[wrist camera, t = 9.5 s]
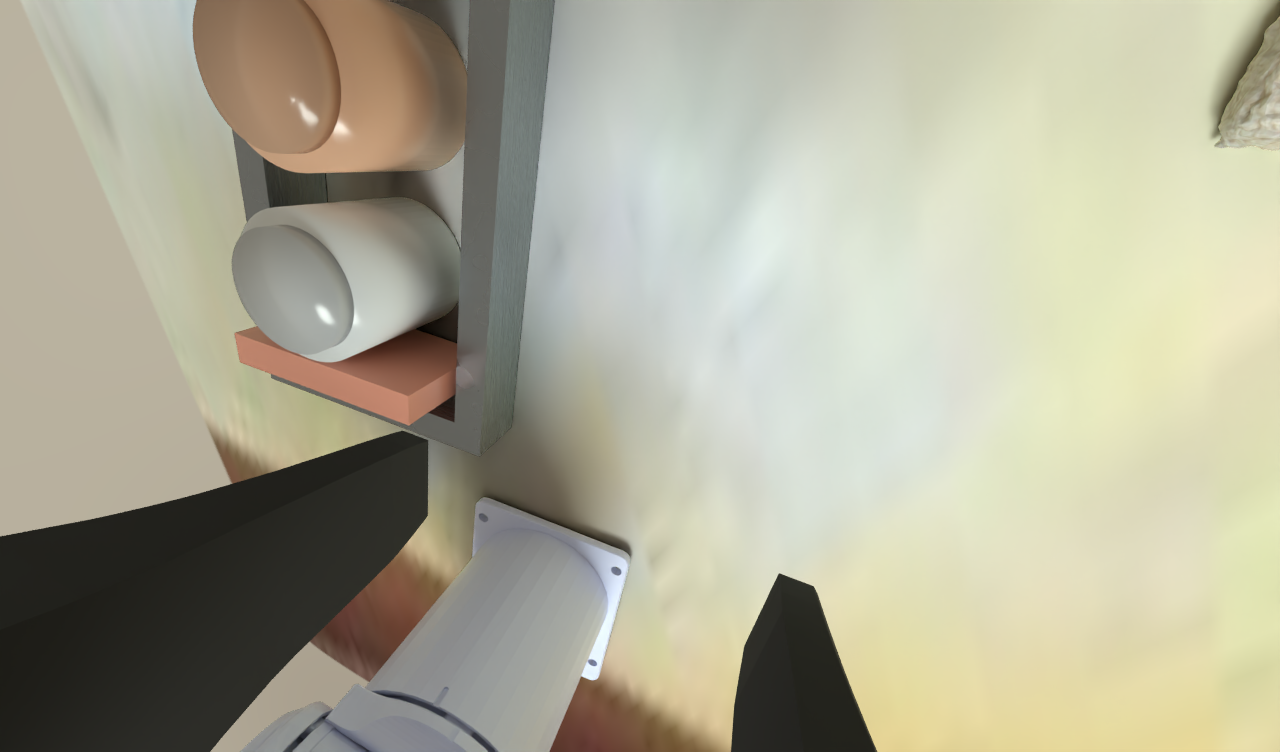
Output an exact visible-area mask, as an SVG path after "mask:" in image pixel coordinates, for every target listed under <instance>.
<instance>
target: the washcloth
mask: <svg viewBox="0 0 1280 752" xmlns="http://www.w3.org/2000/svg"><path fill="white" fill-rule="evenodd" d="M1218 128H1219V130H1220V133H1221V135H1222V137H1221V139H1220V141H1219V142H1217V143H1216V144H1215V146H1214V147H1219V148H1224V147H1231V148H1242V147H1247V146H1256V147H1258V148H1261V149H1265V150H1271V151H1274V150H1279V149H1280V15H1279V17H1278V18H1277V20H1276V21H1275V22H1274V23H1273V24H1271V25H1270V26H1269V27H1268V28H1267V29H1266V31H1265V34H1264V41H1263V44H1262V46H1261V48H1260V49H1259V51H1258V53H1257V55H1256V56H1255V57H1254V59H1253V60H1252V61H1251V62H1250V64H1249V65H1248V66H1247V71H1246V73H1245V75H1244V76H1243V77H1242V79H1241V80H1240V81H1239V83H1238V86H1237V90H1236V91H1235V93H1234V95H1233V97H1232V99H1231V100H1230V102H1229V103H1228V104H1227V106H1226V108H1225V110H1224V114H1223V116H1222V118H1221V123H1220V124H1219V126H1218Z"/></svg>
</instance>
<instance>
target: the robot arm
mask: <svg viewBox="0 0 1280 752" xmlns="http://www.w3.org/2000/svg"><path fill="white" fill-rule="evenodd" d="M427 516H428V440H426V439H423V438H421V437H418V436H415V435H413V434H410V433H407V432H405V431H400V432H396V433H393V434H389V435H386V436H382V437H379V438H376V439H373V440H370V441H367V442H364V443H360V444H357V445H354V446H351V447H348V448H345V449H342V450H339V451H336V452H333V453H330V454H327V455H324V456H321V457H318V458H315V459H312V460H309V461H305V462H302V463H299V464H296V465H293V466H290V467H287V468H284V469H281V470H278V471H274V472H271V473H268V474H264V475H261V476H258V477H254V478H251V479H247V480H244V481H240V482H237V483H234V484H230V485H227V486H224V487H220V488H217V489H213V490H210V491H206V492H203V493H200V494H196V495H192V496H188V497H185V498H181V499H177V500H173V501H169V502H165V503H161V504H157V505H153V506H149V507H144V508H140V509H135V510H131V511H127V512H123V513H118V514H114V515H109V516H105V517H100V518H95V519H91V520H86V521H80V522H75V523H70V524H64V525H59V526H54V527H48V528H44V529H38V530H32V531H28V532H22V533H17V534H11V535H6V536H1V537H0V752H210V751H211V750H212V749H213V747H214V746H215V745H216V744H217V743H218V741H219V740H220V739H221V738H222V737H223V735H224V734H225V733H226V732H227V731H228V730H229V728H230V727H231V726H232V725H233V724H234V723H235V722H236V720H237V719H238V718H239V717H240V716H241V715H242V713H243V712H244V711H245V710H246V709H247V708H248V707H249V705H250V704H251V703H252V702H253V701H254V700H255V698H256V697H257V696H258V695H259V694H260V693H261V692H262V690H263V689H264V688H265V687H266V686H267V685H268V684H269V682H270V681H271V680H272V679H273V678H274V677H275V676H276V675H277V674H278V673H279V672H280V671H281V670H282V669H283V667H284V666H285V665H286V664H287V663H288V662H289V661H290V660H291V659H292V658H293V657H294V656H295V655H296V654H297V653H298V652H299V651H300V650H301V649H302V648H303V647H304V646H305V645H306V644H307V643H308V642H309V641H310V640H311V639H312V638H313V637H314V636H315V635H316V634H317V633H318V632H320V631H321V630H322V629H323V628H324V627H325V626H326V625H327V624H328V623H329V622H330V621H331V620H332V619H333V618H334V617H335V616H336V615H337V614H338V613H339V612H340V611H341V610H342V609H343V608H344V607H345V606H346V605H347V604H348V603H349V602H350V601H351V600H352V599H353V598H354V597H355V596H356V595H357V594H358V593H359V592H361V591H362V590H363V589H364V588H365V587H366V586H367V585H368V584H369V583H370V582H371V581H372V580H373V579H374V578H375V577H376V576H377V575H378V574H379V573H380V572H381V571H382V570H383V569H384V568H385V567H386V566H387V565H388V564H389V563H390V562H391V561H392V560H393V559H394V557H395V556H396V555H397V554H398V553H399V551H400V550H401V549H402V548H403V547H404V545H405V544H406V543H407V542H408V541H409V539H410V538H411V537H412V535H413V534H414V533H415V532H416V530H417V529H418V528H419V526H420V525H421V524H422V523H423V521H424V520H425V519H426V517H427ZM630 563H631V559H630V556H629V555H628V554H627V553H626V552H624V551H623V550H620V549H618V548H615V547H613V546H610V545H607V544H605V543H602V542H600V541H597V540H595V539H592V538H590V537H587V536H584V535H582V534H579V533H577V532H574V531H572V530H569V529H567V528H564V527H562V526H559V525H556V524H554V523H551V522H549V521H546V520H544V519H541V518H539V517H536V516H534V515H531V514H528V513H526V512H523V511H521V510H518V509H516V508H513V507H511V506H508V505H505V504H503V503H500V502H498V501H495V500H493V499H490V498H487V497H483V498H481V499H480V500H479V501H478V502H477V503H476V506H475V521H474V536H473V551H472V559H471V560H470V561H469V562H468V563H467V565H466V566H465V567H464V568H463V570H462V571H461V572H460V573H459V574H458V576H457V577H456V578H455V579H454V580H453V582H452V583H451V584H450V585H449V587H448V588H447V589H446V590H445V591H444V593H443V594H442V595H441V596H440V597H439V599H438V600H437V601H436V602H435V603H434V605H433V606H432V607H431V608H430V610H429V611H428V612H427V613H426V614H425V616H424V617H423V618H422V619H421V620H420V622H419V623H418V624H417V625H416V626H415V628H414V629H413V630H412V631H411V633H410V634H409V635H408V636H407V637H406V639H405V640H404V641H403V642H402V643H401V645H400V646H399V647H398V648H397V650H396V651H395V652H394V653H393V654H392V656H391V657H390V658H389V659H388V660H387V662H386V663H385V664H384V665H383V666H382V668H381V669H380V670H379V671H378V673H377V674H376V675H375V676H374V677H373V679H372V680H371V681H370V682H369V683H368V685H367V686H366V687H365V688H364V687H363V686H361V685H359V684H355V685H354V686H353V687H352V688H351V689H350V690H349V691H348V693H347V694H346V695H345V696H344V698H343V699H342V700H341V701H340V702H339V703H338V704H337V706H336V707H335V708H334V709H332V708H330V707H329V706H327V705H326V704H324V703H323V702H314V703H312V704H310V705H308V706H306V707H304V708H301V709H298V710H295V711H291V712H288V713H286V714H284V715H283V716H281V717H280V718H278V719H277V720H275V721H274V722H273V723H271V724H270V725H269V726H268V727H267V728H265V729H264V730H263V731H262V732H261V733H260V734H258V735H257V736H256V737H255V738H254V739H253V740H252V741H251V742H250V743H249V744H247V746H246V747H244V748H243V749H242V750H241V751H240V752H549V751H550V749H551V746H552V744H553V741H554V739H555V737H556V734H557V732H558V730H559V727H560V725H561V723H562V720H563V718H564V715H565V713H566V711H567V708H568V706H569V704H570V701H571V699H572V696H573V694H574V692H575V689H576V687H577V685H578V682H579V680H580V678H581V676H583V677H585V678H587V679H590V680H596V679H597V678H598V677H599V674H600V672H601V668H602V665H603V661H604V657H605V654H606V650H607V646H608V643H609V639H610V635H611V632H612V628H613V624H614V621H615V617H616V614H617V610H618V606H619V603H620V599H621V595H622V592H623V588H624V584H625V581H626V577H627V573H628V570H629V566H630ZM616 567H618V568H620V569H617V568H616ZM731 752H877V750H876V748H875V745H874V743H873V741H872V738H871V736H870V734H869V731H868V729H867V726H866V724H865V721H864V719H863V716H862V714H861V711H860V709H859V707H858V704H857V702H856V699H855V697H854V694H853V692H852V689H851V687H850V684H849V682H848V679H847V676H846V674H845V671H844V668H843V666H842V663H841V660H840V658H839V655H838V652H837V649H836V647H835V644H834V641H833V638H832V636H831V633H830V630H829V627H828V624H827V621H826V618H825V615H824V612H823V609H822V606H821V603H820V600H819V597H818V594H817V592H816V590H815V588H814V586H811V585H809V584H806V583H803V582H801V581H798V580H795V579H793V578H790V577H787V576H785V575H782V574H780V573H779V574H778V577H777V579H776V581H775V583H774V585H773V587H772V589H771V591H770V593H769V595H768V598H767V600H766V602H765V604H764V606H763V608H762V610H761V612H760V614H759V616H758V619H757V621H756V623H755V625H754V627H753V629H752V631H751V633H750V635H749V637H748V640H747V642H746V644H745V646H744V652H743V657H742V663H741V669H740V674H739V680H738V686H737V692H736V699H735V705H734V717H733V732H732V746H731Z"/></svg>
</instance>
